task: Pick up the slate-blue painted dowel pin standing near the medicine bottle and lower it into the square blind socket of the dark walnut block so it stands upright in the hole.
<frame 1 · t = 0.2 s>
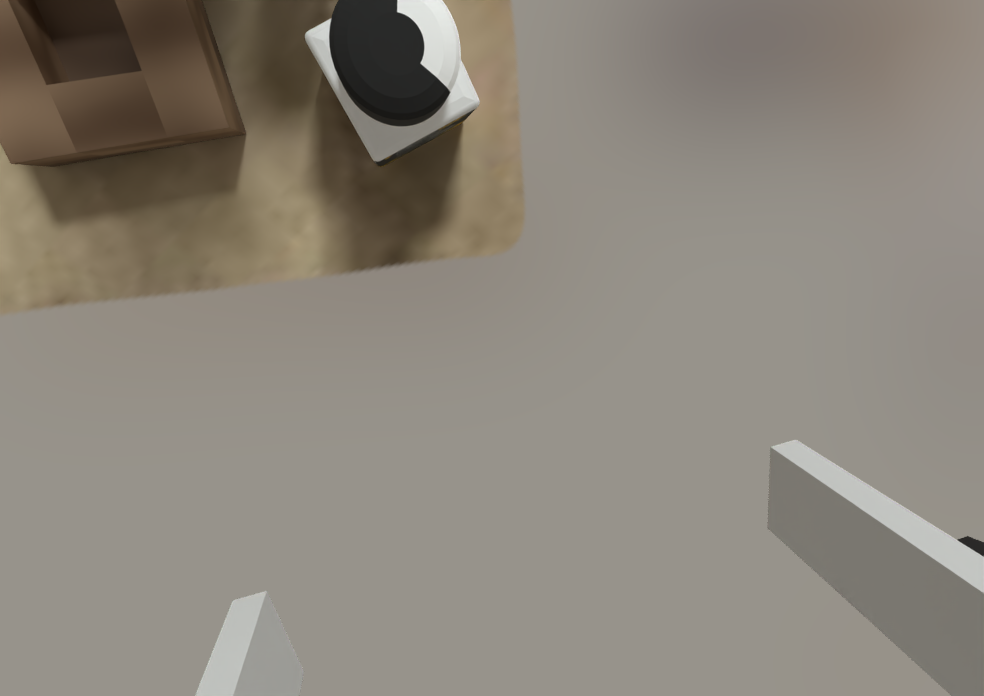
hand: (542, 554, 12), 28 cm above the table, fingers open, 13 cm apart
medicine bottle: (396, 95, 33), on the table
socket block: (109, 44, 29), on the table
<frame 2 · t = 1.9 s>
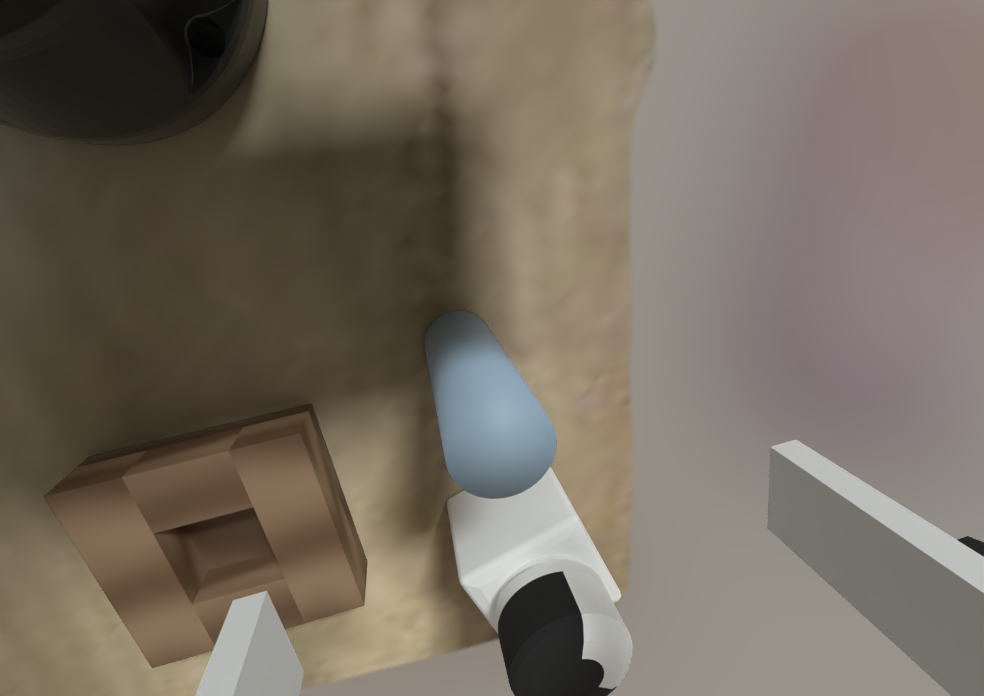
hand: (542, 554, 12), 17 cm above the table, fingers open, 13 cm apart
pin: (458, 343, 28), on the table
medicine bottle: (514, 507, 32), on the table
socket block: (241, 514, 28), on the table
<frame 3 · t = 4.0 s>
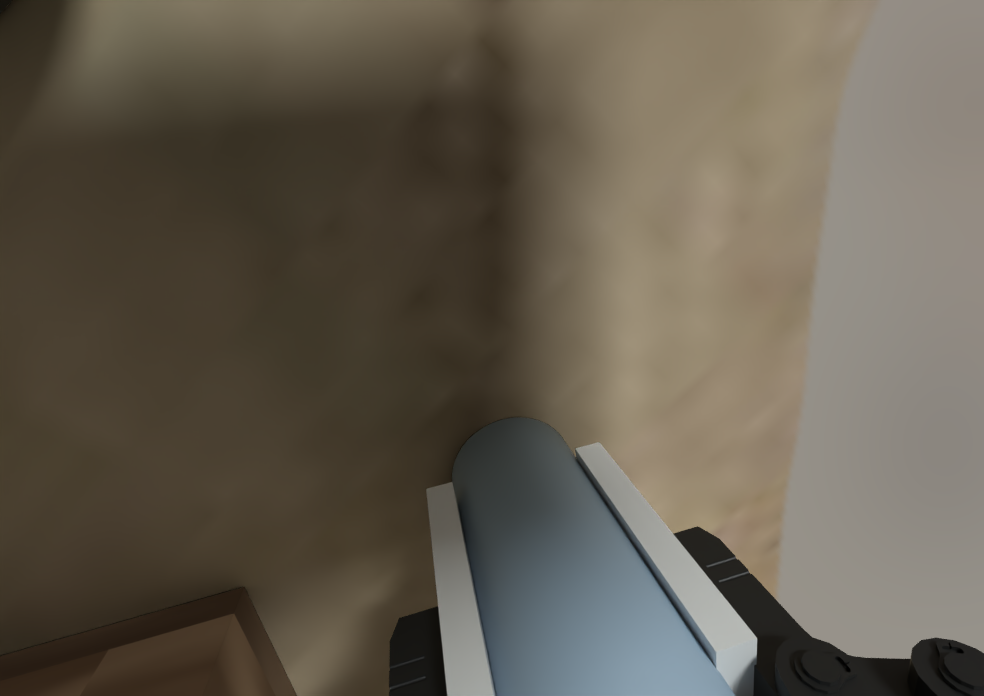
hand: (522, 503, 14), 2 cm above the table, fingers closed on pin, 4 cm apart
pin: (512, 472, 15), on the table, touching gripper
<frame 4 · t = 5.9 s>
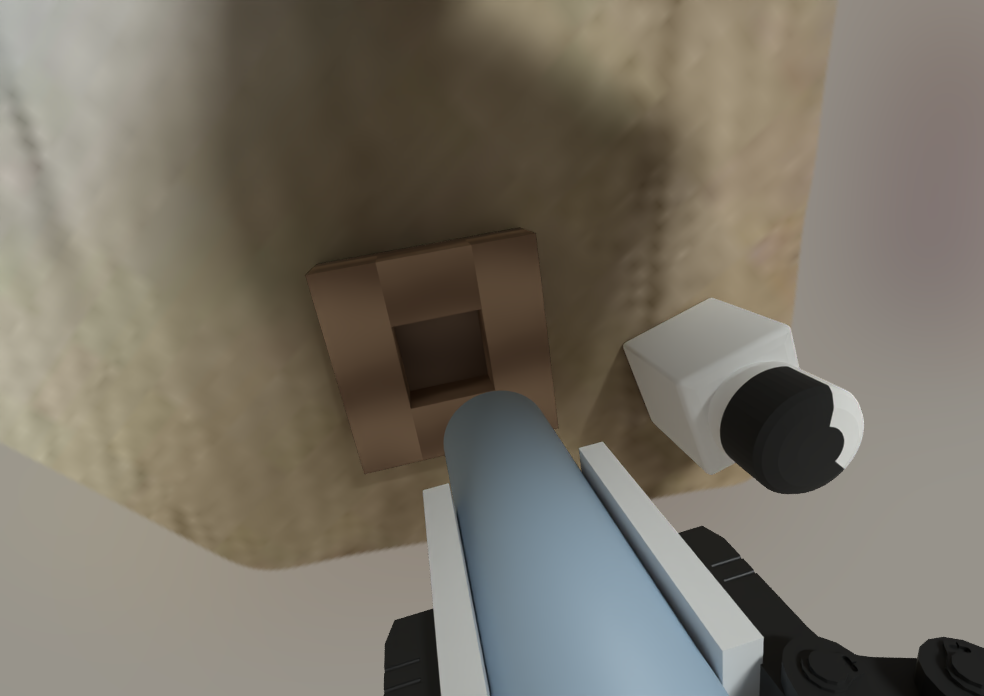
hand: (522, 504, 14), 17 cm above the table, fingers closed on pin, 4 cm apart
pin: (496, 439, 18), point 13 cm above the table, touching gripper
medicine bottle: (678, 360, 34), on the table
socket block: (440, 340, 30), on the table
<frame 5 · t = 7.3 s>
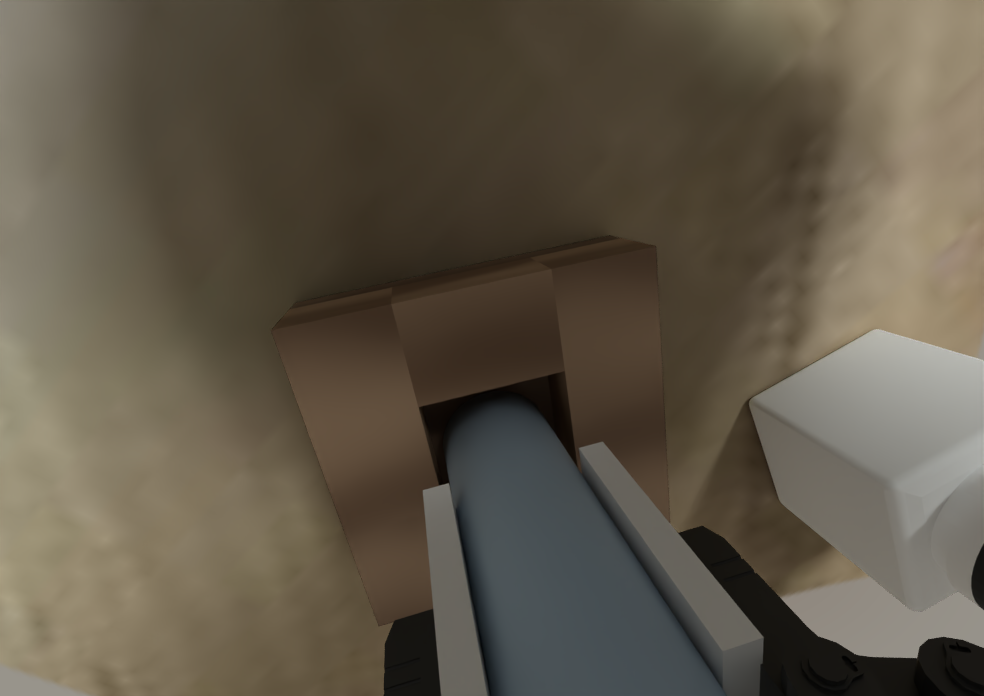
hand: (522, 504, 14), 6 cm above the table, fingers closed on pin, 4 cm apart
pin: (495, 439, 18), point 2 cm above the table, touching gripper
medicine bottle: (820, 416, 24), on the table
socket block: (487, 408, 20), on the table
when the fingers open (5 cm above the table, at t = 7.8 s): pin stays where it is, resting on socket block.
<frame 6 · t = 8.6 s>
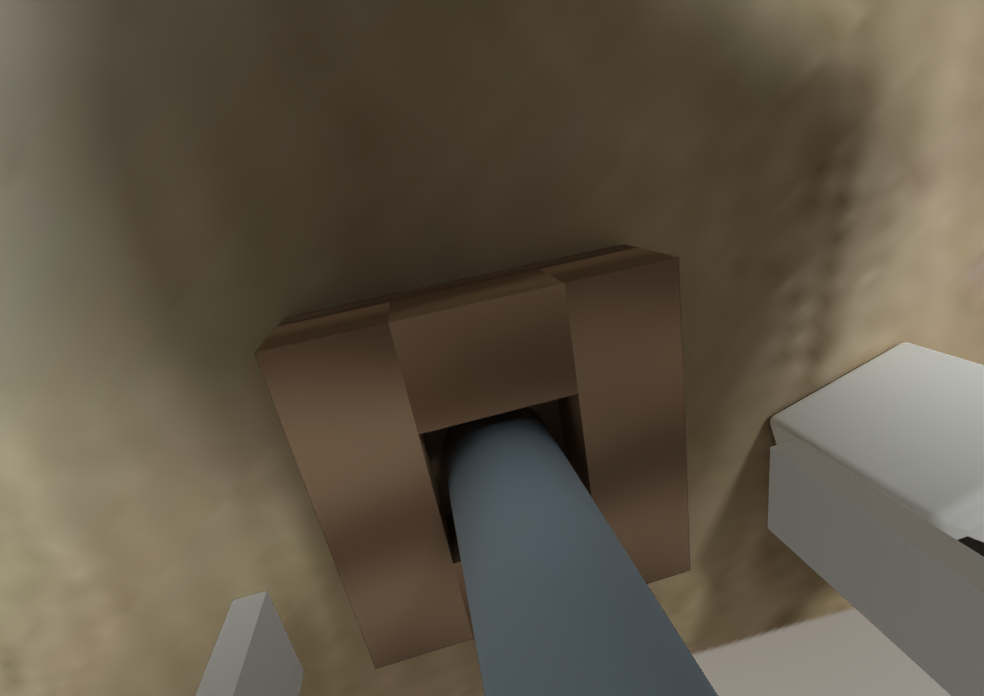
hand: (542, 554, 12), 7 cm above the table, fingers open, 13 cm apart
pin: (496, 448, 17), point 1 cm above the table, touching socket block
medicine bottle: (843, 434, 22), on the table
socket block: (492, 429, 18), on the table
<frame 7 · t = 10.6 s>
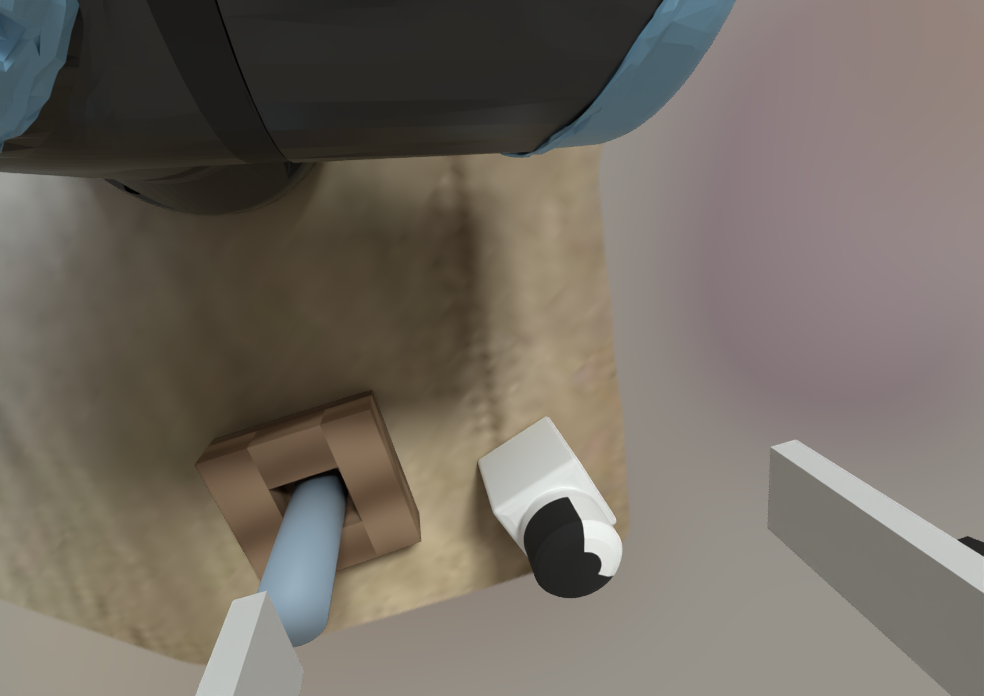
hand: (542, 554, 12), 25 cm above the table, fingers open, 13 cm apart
pin: (321, 488, 36), point 1 cm above the table, touching socket block
medicine bottle: (530, 464, 41), on the table
socket block: (323, 478, 37), on the table
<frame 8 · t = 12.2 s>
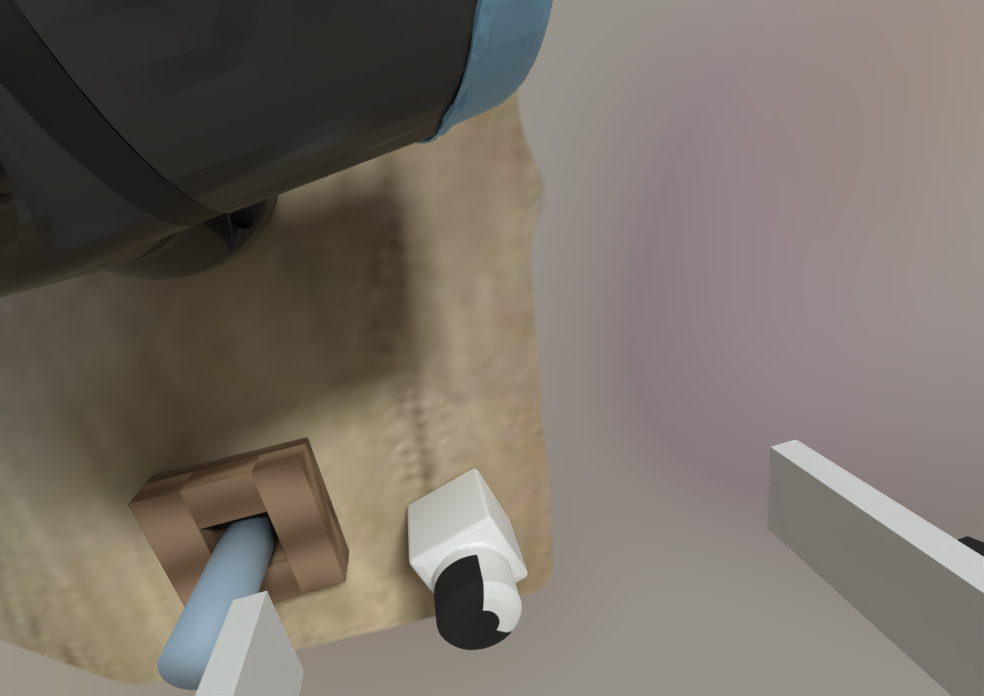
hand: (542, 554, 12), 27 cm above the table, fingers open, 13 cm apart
pin: (254, 526, 39), point 1 cm above the table, touching socket block
medicine bottle: (459, 511, 43), on the table
socket block: (257, 516, 39), on the table
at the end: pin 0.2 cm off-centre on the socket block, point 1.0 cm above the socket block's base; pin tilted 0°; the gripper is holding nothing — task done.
